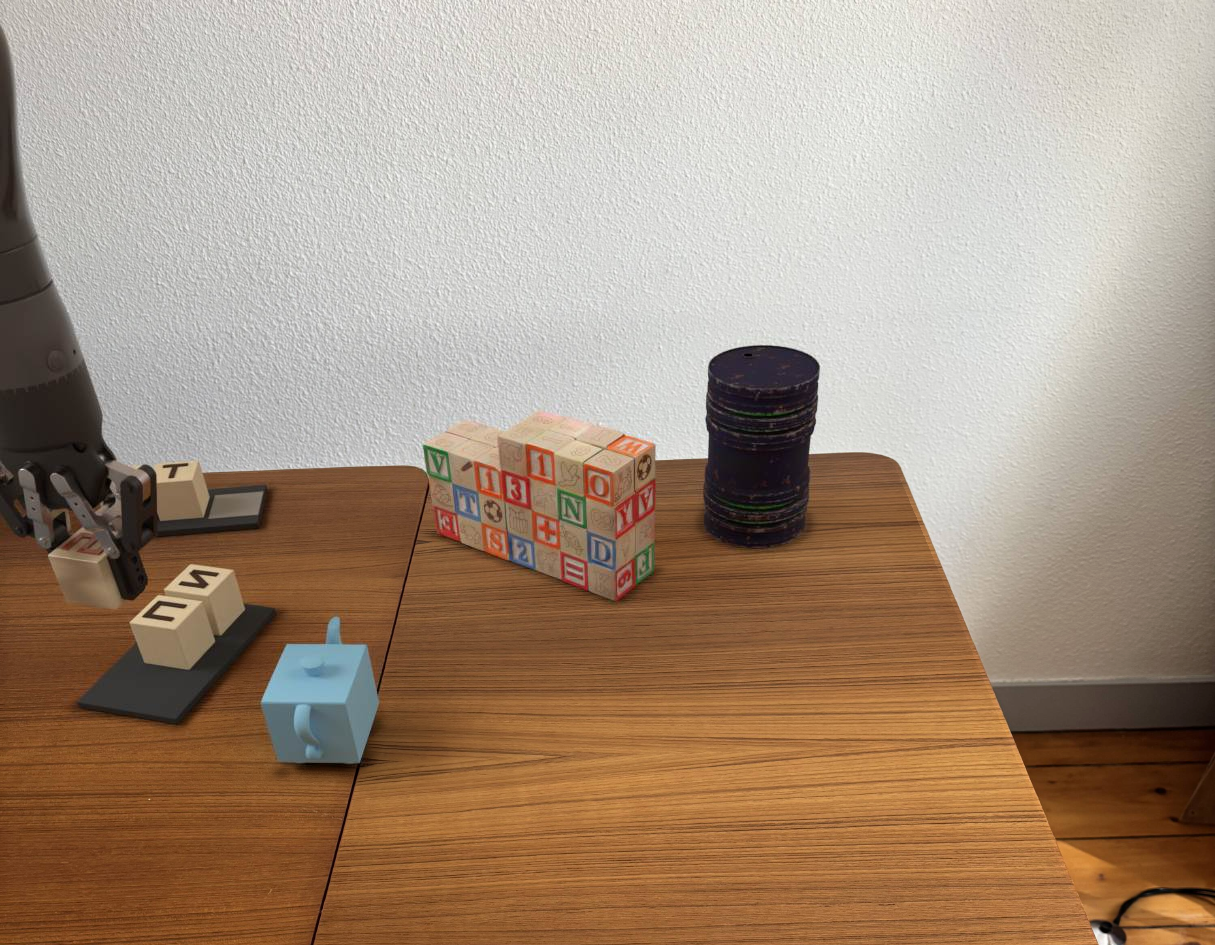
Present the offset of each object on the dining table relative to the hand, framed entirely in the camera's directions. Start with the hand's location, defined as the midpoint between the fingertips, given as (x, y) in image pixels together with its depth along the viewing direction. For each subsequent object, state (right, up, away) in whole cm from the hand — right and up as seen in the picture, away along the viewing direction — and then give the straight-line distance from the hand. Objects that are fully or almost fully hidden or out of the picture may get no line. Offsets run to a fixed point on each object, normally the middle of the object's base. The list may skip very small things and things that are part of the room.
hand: (106, 589), depth 85 cm
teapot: (+17, -11, +2) cm, 20 cm away
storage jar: (+51, +11, +24) cm, 58 cm away
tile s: (0, 0, 0) cm, 0 cm away
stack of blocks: (+31, +7, +21) cm, 38 cm away
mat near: (+2, -4, +10) cm, 11 cm away
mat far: (-4, +13, +28) cm, 31 cm away
